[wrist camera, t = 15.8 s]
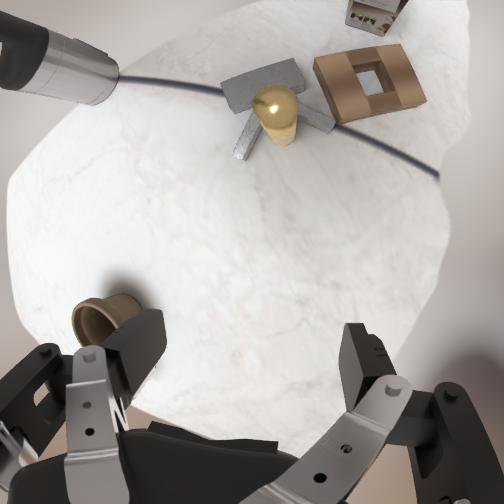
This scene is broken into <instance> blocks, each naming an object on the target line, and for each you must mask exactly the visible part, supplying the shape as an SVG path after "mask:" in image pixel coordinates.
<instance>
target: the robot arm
mask: <svg viewBox="0 0 504 504" xmlns="http://www.w3.org/2000/svg"><path fill="white" fill-rule="evenodd" d="M0 42H2V50H1V55H0V87H1V88H3V89H7V90H14V91H20V92H26V93H33V94H39V95H44V96H49V97H54V98H59V99H64V100H68V101H73V102H77V103H82V104H86V105H96V104H99V103H100V102H102V101H103V100H105V99H106V98H107V97H108V96H109V95H110V94H111V92H112V91H113V89H114V87H115V85H116V83H117V80H118V76H119V68H118V64H117V63H116V61H115V60H113V59H112V58H110V57H108V54H107V53H105V52H103V51H101V50H99V49H97V48H95V47H93V46H91V45H89V44H87V43H85V42H83V41H81V40H78V39H76V38H75V39H70V38H68V37H66V36H64V35H61V34H59V33H57V32H54V31H52V30H49V29H47V28H44V27H42V26H39V25H36V24H34V23H31V22H29V21H26V20H23V19H20V18H18V17H15V16H12V15H10V14H7V13H5V12H2V11H0ZM166 345H167V337H166V331H165V325H164V318H163V313H162V311H161V310H159V309H152V308H144V309H143V310H142V311H141V312H140V313H139V314H138V315H137V316H136V317H135V316H134V317H132V318H130V319H128V320H126V321H125V322H124V323H123V324H121V325H120V326H119V328H117V329H116V330H115V331H114V332H113V333H112V334H111V335H110V336H109V337H108V338H107V339H106V340H105V341H104V342H103V343H102V344H101V345H99V346H95V345H91V346H85V347H83V348H80V349H79V350H77V351H76V352H75V354H74V355H62V354H61V351H60V349H59V346H58V345H56V344H54V343H45V344H42V345H39V346H38V347H36V348H35V349H34V350H33V351H32V352H30V353H29V354H28V355H27V356H26V357H25V358H24V359H22V360H21V361H20V362H19V363H18V364H17V365H16V366H15V367H14V368H13V369H11V370H10V371H9V372H8V373H7V374H6V375H5V376H4V377H3V378H2V379H1V380H0V488H1V489H2V490H3V491H6V492H9V494H8V502H7V504H348V503H347V502H346V501H345V500H346V499H347V498H348V497H349V496H350V494H351V493H352V492H353V491H354V489H355V488H356V487H357V485H358V484H359V483H360V481H361V480H362V478H363V477H364V476H365V474H366V473H367V472H368V470H369V469H370V467H371V466H372V465H373V463H374V461H375V460H376V459H377V457H378V456H379V454H380V453H381V451H382V450H383V448H384V447H385V445H386V444H393V445H401V446H407V448H408V452H409V457H410V462H411V467H412V473H413V478H414V484H415V490H416V497H417V504H504V474H503V472H502V469H501V466H500V464H499V461H498V459H497V456H496V453H495V451H494V449H493V446H492V444H491V442H490V439H489V437H488V435H487V433H486V430H485V428H484V426H483V424H482V422H481V420H480V418H479V416H478V413H477V411H476V409H475V407H474V406H473V404H472V402H471V400H470V398H469V396H468V394H467V392H466V391H465V389H464V388H463V387H462V386H460V385H458V384H456V383H453V382H443V383H440V384H438V385H437V386H436V387H435V389H434V391H433V393H430V392H423V391H416V390H413V389H412V385H411V384H410V382H409V381H408V380H406V379H405V378H403V377H401V376H397V374H396V371H395V369H394V367H393V365H392V362H391V360H390V358H389V356H388V353H387V351H386V350H385V347H384V345H383V342H382V341H381V340H380V339H379V338H378V337H377V336H376V335H374V334H368V333H367V331H366V328H365V326H364V324H363V323H346V324H345V326H344V331H343V337H342V342H341V347H340V352H339V370H340V375H341V381H342V386H343V392H344V398H345V404H346V410H347V411H346V412H345V413H344V414H343V415H342V416H341V417H340V418H339V419H338V420H337V421H336V423H335V424H334V425H333V426H332V427H331V428H330V429H329V430H328V431H327V432H326V433H325V434H324V435H323V436H322V437H321V438H320V439H319V440H318V442H317V443H316V444H315V445H314V446H312V447H311V448H310V449H309V450H308V451H307V452H306V453H305V454H304V455H303V456H302V457H301V458H300V459H299V458H297V457H295V456H293V455H291V454H288V453H285V452H282V451H279V450H277V449H278V441H264V440H253V439H233V440H208V439H205V438H202V437H200V436H198V435H195V434H193V433H191V432H188V431H186V430H184V429H182V428H178V427H174V426H170V425H166V424H162V423H158V422H154V421H152V422H151V424H150V426H149V427H148V429H131V430H129V428H128V423H127V420H126V416H125V412H124V407H123V403H122V400H121V395H122V394H127V395H130V396H134V395H135V393H136V392H137V391H138V389H139V388H140V386H141V385H142V383H143V382H144V380H145V379H146V377H147V376H148V375H149V373H150V372H151V370H152V369H153V367H154V366H155V364H156V363H157V362H158V360H159V359H160V357H161V356H162V354H163V353H164V351H165V349H166ZM43 383H45V385H46V387H47V389H48V391H49V393H48V394H47V395H46V396H45V397H44V398H43V400H42V401H41V402H40V403H39V404H38V405H37V406H36V405H35V403H34V399H33V398H34V394H35V392H36V391H37V390H38V389H39V388H40V386H41V385H42V384H43ZM65 421H66V436H67V451H68V452H67V453H65V454H61V455H58V456H55V457H52V458H49V459H45V460H42V461H39V462H38V458H39V457H40V456H41V454H42V453H43V451H44V450H45V448H46V447H47V446H48V444H49V443H50V441H51V440H52V439H53V437H54V436H55V434H56V433H57V432H58V430H59V429H60V428H61V426H62V425H63V423H64V422H65Z"/></svg>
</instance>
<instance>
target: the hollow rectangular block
mask: <svg viewBox="0 0 504 504" xmlns="http://www.w3.org/2000/svg"><path fill="white" fill-rule="evenodd" d="M313 70H314V72H315V75H316V77H317V79H318V81H319V83H320V86H321V88H322V90H323V93H324V95H325V97H326V100H327V102H328V104H329V107H330V109H331V112H332V114H333V117H334V119H335V120H336V124H337V125H340V124H344V123H347V122H351V121H355V120H359V119H363V118H367V117H372V116H376V115H380V114H385V113H390V112H394V111H399V110H404V109H410V108H415V107H417V106H419V105H421V104H423V103H425V102H427V100H426V97H425V95H424V93H423V90H422V88H421V85H420V83H419V81H418V79H417V76H416V74H415V72H414V70H413V68H412V66H411V64H410V61H409V59H408V57H407V55H406V54H405V52H404V50H403V48H402V46H401V44H394V45H384V46H376V47H369V48H362V49H356V50H350V51H345V52H340V53H335V54H330V55H325V56H321V57H317V58H315V59H314V65H313ZM370 70H375V72H376V75H377V77H378V79H379V81H380V83H381V86H382V88H383V90H384V93H380V94H375V95H370V96H365V94H364V91H363V89H362V87H361V85H360V82H359V80H358V78H357V76H356V74H355V73H360V72H365V71H370Z"/></svg>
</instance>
